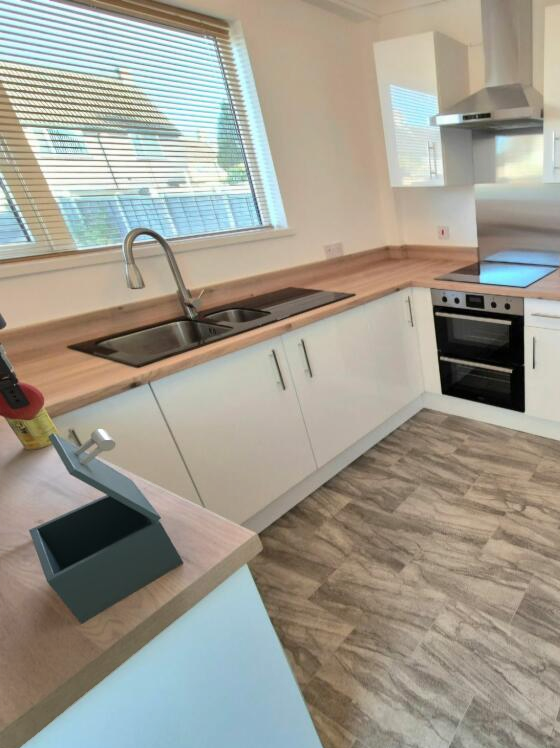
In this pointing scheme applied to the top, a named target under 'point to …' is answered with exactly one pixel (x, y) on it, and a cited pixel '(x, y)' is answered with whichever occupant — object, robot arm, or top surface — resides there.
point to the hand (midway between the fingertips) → (18, 401)
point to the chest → (102, 555)
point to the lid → (102, 471)
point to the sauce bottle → (34, 429)
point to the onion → (26, 412)
